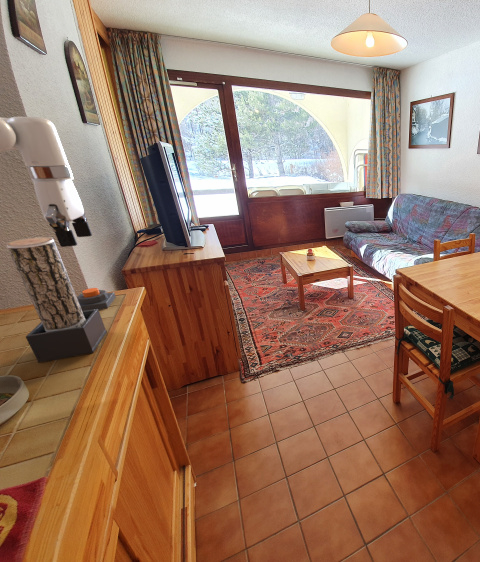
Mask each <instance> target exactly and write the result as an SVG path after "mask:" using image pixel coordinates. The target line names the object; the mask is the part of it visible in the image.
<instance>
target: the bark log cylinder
mask: <svg viewBox="0 0 480 562" xmlns="http://www.w3.org/2000/svg"><path fill="white" fill-rule="evenodd" d="M5 246H6V249H7V251H8V253H9V256H10V257H11V260H12V262H13V264H14V266H15V268H16V270H17V273H18V274H19V277H20V279H21V281H22V283H23V285H24V287H25V289H26V292H27V294H28V296H29V298H30V301H31V303H32V305H33V307H34V310H35V311H36V314H37V315H38V318H39V320H40V323H41V322H42V324H43V326H44V329H45V331H46V332H51V331H58V330H64V329H71V328H77V327H81V326H82V325H83V324H84V323H85V321H86V319H85V317H84V314H83V312H82V309H81V307H80V304H79V302H78V299H77V297H78V296H77V295H76V291H75V289H74V287H73V285H72V282H71V279H70V277H69V275H68V271H67V269H66V267H65V264H64V262H63V260H62V257H61V254H60V252H59V249H58V246H57V244H56V242H55V239H54V237H52V236H37V237H27V238H22V239H16V240H13V241H12V240H11V241H9V242H7V243H5Z"/></svg>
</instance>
